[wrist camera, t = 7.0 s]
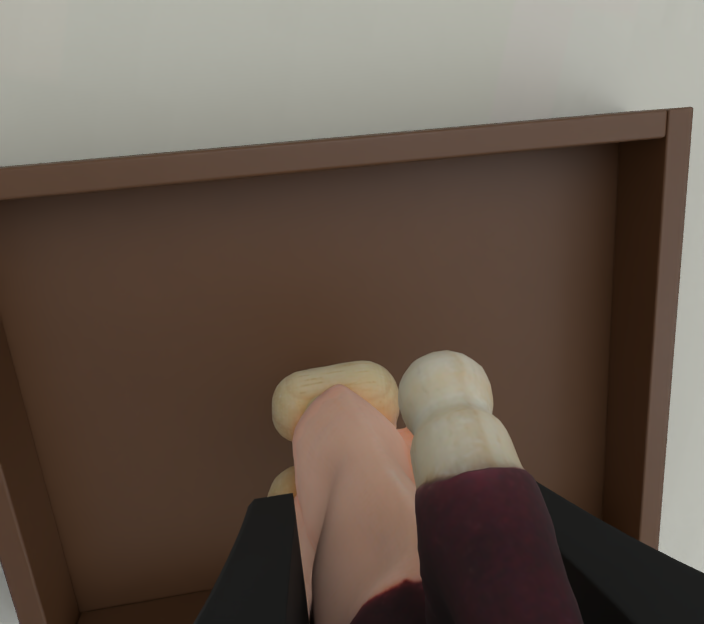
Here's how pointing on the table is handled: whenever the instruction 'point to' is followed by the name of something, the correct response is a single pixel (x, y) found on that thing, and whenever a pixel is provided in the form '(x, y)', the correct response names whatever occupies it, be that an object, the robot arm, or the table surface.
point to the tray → (318, 330)
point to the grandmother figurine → (415, 500)
